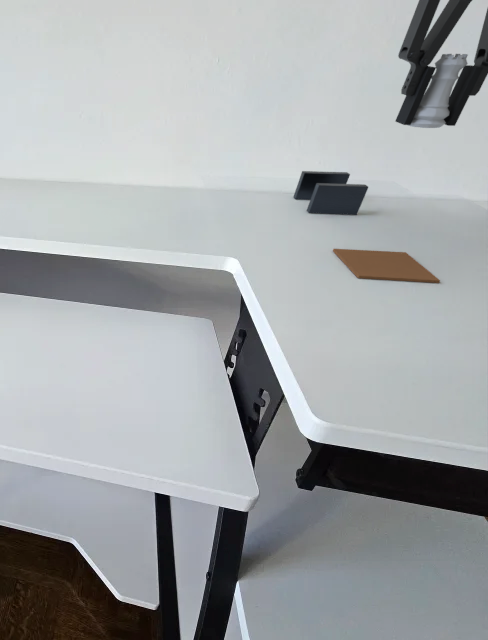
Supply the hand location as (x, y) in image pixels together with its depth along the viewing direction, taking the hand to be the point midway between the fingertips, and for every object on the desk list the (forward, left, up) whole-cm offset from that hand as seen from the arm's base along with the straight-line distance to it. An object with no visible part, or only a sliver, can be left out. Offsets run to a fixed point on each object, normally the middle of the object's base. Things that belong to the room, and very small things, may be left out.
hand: (424, 123), depth 66 cm
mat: (0, +6, -18) cm, 19 cm away
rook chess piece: (0, 0, 0) cm, 0 cm away
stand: (-1, -23, -18) cm, 29 cm away
